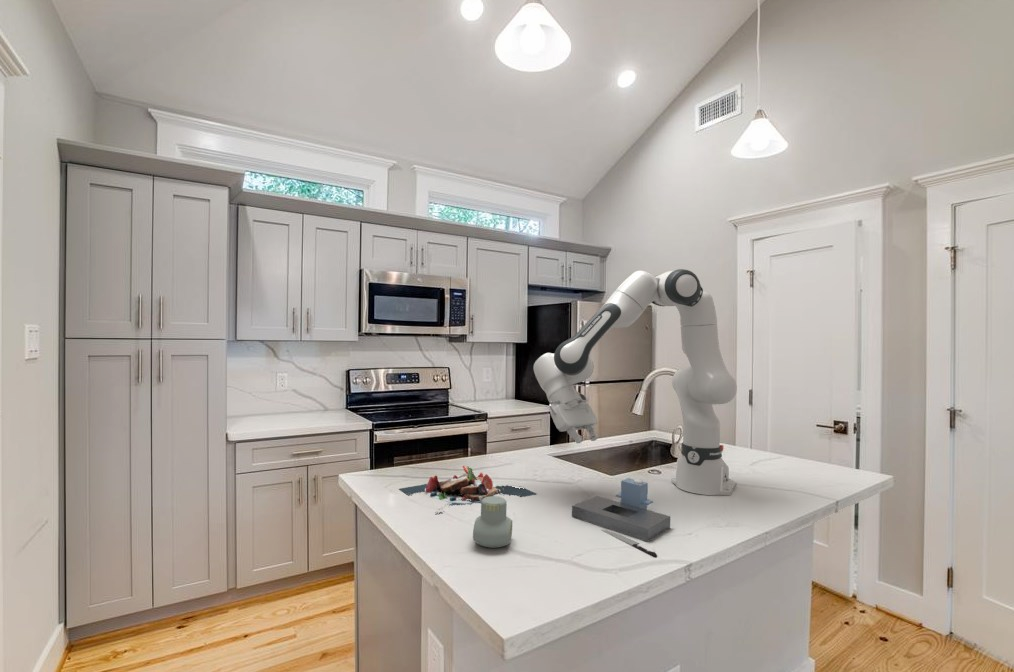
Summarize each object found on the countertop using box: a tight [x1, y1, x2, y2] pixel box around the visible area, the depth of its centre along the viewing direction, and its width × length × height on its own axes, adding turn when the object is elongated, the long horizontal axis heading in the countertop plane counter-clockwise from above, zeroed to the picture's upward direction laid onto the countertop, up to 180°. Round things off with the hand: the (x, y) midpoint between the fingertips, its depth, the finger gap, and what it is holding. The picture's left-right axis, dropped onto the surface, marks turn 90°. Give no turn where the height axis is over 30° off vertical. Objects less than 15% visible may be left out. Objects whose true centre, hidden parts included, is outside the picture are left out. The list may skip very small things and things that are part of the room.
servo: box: [615, 477, 654, 510], centre depth 139 cm, size 4×10×9 cm, turn 47°
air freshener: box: [472, 495, 513, 549], centre depth 115 cm, size 11×8×10 cm
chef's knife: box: [600, 529, 658, 558], centre depth 118 cm, size 19×1×3 cm
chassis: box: [571, 495, 671, 543], centre depth 130 cm, size 12×22×3 cm, turn 47°
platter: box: [398, 465, 537, 515], centre depth 152 cm, size 35×27×9 cm
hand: (587, 441), depth 147 cm, fingers open, 8 cm apart
